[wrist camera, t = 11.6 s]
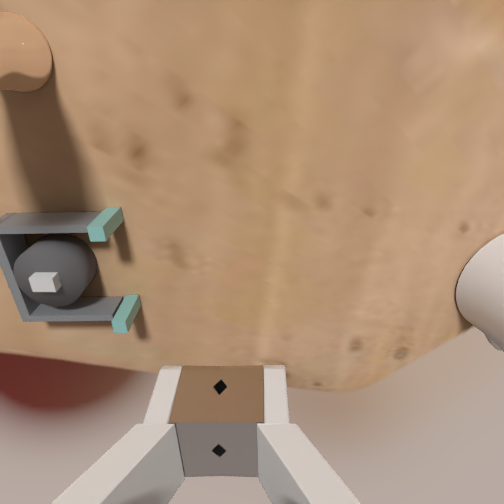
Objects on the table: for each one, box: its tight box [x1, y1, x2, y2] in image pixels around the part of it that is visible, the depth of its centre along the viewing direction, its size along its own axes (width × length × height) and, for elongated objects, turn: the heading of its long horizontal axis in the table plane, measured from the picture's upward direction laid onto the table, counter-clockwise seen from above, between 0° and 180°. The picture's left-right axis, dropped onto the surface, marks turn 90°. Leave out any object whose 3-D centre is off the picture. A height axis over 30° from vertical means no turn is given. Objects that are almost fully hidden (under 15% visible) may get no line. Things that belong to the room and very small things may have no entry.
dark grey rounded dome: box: [13, 233, 97, 307], centre depth 39 cm, size 7×7×5 cm
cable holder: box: [0, 207, 141, 333], centre depth 39 cm, size 12×12×5 cm
